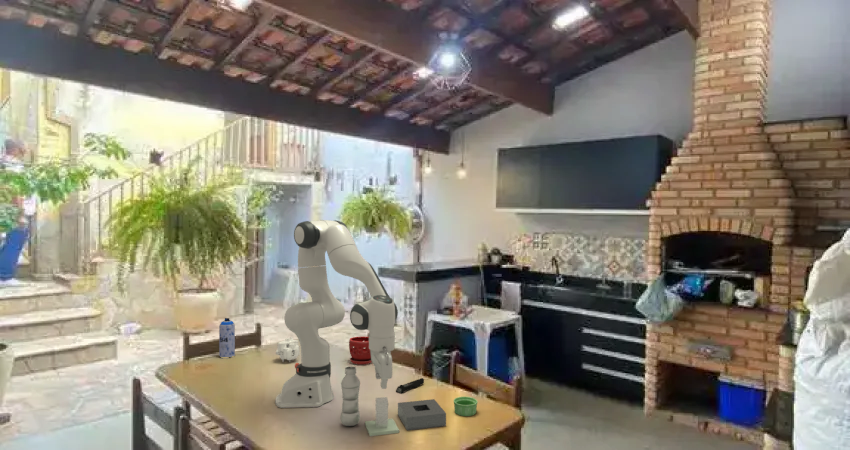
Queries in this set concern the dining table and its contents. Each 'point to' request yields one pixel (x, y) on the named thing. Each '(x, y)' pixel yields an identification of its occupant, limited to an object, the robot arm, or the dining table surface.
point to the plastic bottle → (350, 397)
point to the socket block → (421, 414)
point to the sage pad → (381, 431)
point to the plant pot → (360, 350)
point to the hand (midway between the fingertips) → (380, 383)
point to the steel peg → (382, 412)
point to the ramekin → (465, 406)
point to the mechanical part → (288, 349)
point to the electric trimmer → (409, 386)
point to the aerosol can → (227, 338)
